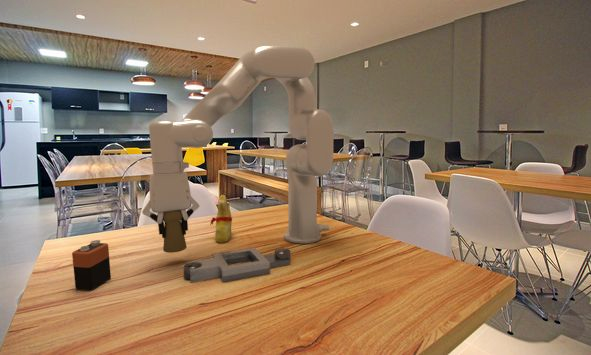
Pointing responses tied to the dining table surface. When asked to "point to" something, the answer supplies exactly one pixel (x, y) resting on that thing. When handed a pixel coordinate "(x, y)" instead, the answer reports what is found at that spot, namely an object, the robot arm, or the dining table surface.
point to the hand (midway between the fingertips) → (173, 234)
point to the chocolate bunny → (223, 221)
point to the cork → (173, 232)
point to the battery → (91, 265)
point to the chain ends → (220, 262)
